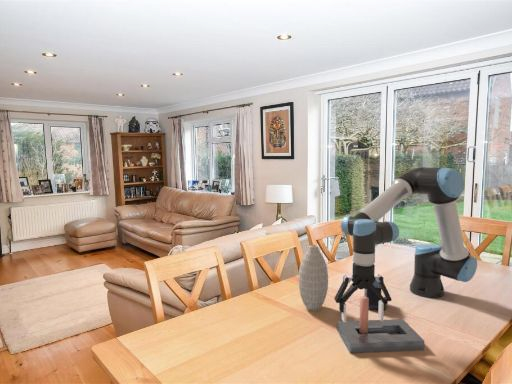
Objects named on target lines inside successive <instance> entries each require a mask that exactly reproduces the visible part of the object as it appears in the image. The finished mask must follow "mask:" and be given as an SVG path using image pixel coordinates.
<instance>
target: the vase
mask: <svg viewBox="0 0 512 384" xmlns="http://www.w3.org/2000/svg"><path fill="white" fill-rule="evenodd" d="M298 288H299V295H300V297H301V301H302V303H303V305H304V306H305V308H306V309H307V310H309V311H311V312H312V311H315V312H317V311H319V310H320V309H321V308H322V306H323V305H324V303H325V301H326V299H327V298H326V297H327V294H328V290H329V272H328V265H327V262H326V260H325V258H324V256H323V254H322V252H321V251H320V249H319V246H318V244H310V245H309V246H308V250H307V251H306V252H305V254H304V256H303V258H302V259H301V263H300V265H299V270H298Z"/></svg>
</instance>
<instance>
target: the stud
mask: <svg viewBox="0 0 512 384" xmlns="http://www.w3.org/2000/svg"><path fill="white" fill-rule="evenodd" d="M369 310H370V309H369V298H368V297H365V296H364V295H363V296H360V297H359V321H360V327H359V334H368V320H369Z"/></svg>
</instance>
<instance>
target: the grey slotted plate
mask: <svg viewBox="0 0 512 384" xmlns="http://www.w3.org/2000/svg"><path fill="white" fill-rule="evenodd" d="M359 327H360V320H346V322H343V320H340V321H339V320H337V321H336V331H337V333H338V334H339V337H340V338H341V341H342V342H343V344H344V345H345V347H346V349H347V351H348V353H349V354H362V353H363V354H364V353H365V354H367V353H388V352H391V353H392V352H413V351H414V352H415V351H416V352H417V351H424V350H425V340H424V339H423V338H422V336H421V335H419V334H418V332H416V331H415V329H413V328H412V327H411V326H410V325H409V323H408V322H407V321H405V320H404V319H403V318H397V319H396V318H395V319H383V321H381V320H380V319H368V334H359Z"/></svg>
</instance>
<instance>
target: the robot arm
mask: <svg viewBox="0 0 512 384" xmlns="http://www.w3.org/2000/svg"><path fill="white" fill-rule="evenodd" d="M463 192H464V179H463V176H462V174H461V172H460V171H458V170H457V169H456V168H452V167H451V168H449V167H423V166H422V167H421V166H419V167H415V168H413V169H410V170H407V171H405V172H404V173H401V174H400V175H399V176H397V177H396V178H395V179H394V180H393V181H392V183H391V185H390V186H389V187H388V188H386V190H384V191H382V193H380V194H379V195H378V196H376V197H375V198H374V199H373V200H372V201H370V202H369V203H368V204H367V205H366V206H364V207H363V208H362V209H361V210H360V211H358V212H357V213H356V214H355V215H353V216H352V215H346V216H345V217H343V218H342V219H341V221H340V229H341V231H342V232H343V233H344V234H346V235H349V236H351V237H352V241H353V242H352V245H353V246H352V247H353V248H352V262H353V263H352V275H351V276H347V275H346V274H345V275H344V276H343V279H342V282H341V285H340V286H339V288H338V290H337V292H336V294H335V296H334V298H333V299H334V301H335V303H336V304H338V310H339V312H340V314H341V321H343V322H346V321H347V304H346V302H347V301H348V300H349V299H350V298H351V297H352V296H353V294H354V293H355V292H357V290H358V289H359V290H363V289H364V290H365V289H368V288H371V289H372V290H373V291H374V292H375V293H376V295H377V296H378V297H379V298H380V299H381V301H379V308H378V310H377V311H378V312H377V313H378V314H377V316H378V317H377V318H378V320H381V321H383V320H384V313H385V312H386V311H387V305H388V302H392V300H393V299H392V297H391V294H390V293H389V290H388V289H387V287H386V284H385V282H384V276H382V275H381V274H377V275H375V273H376V272H375V267H376V265H375V263H376V246H377V245H381V244H386V243H391V242H393V241H395V240H397V239H398V238H399V236H400V235H399V234H400V229H399V227H398V225H397V224H396V223H395V222H393V221H390V220H389V221H387V220H386V221H380V220H381V219H382V218H383V217H384V216H386V215H387V214H388V213H389V212H390V211H391V210H392V209H394V208H395V207H396V206H397V205H398V204H399V203H400V202H401V201H403V200H404V199H409V198H410V197H411V196H412V195H417V194H418V195H426V196H427V200H428V202H429V203H430V204H432V205H433V209H434V214H435V219H436V225H437V229H438V233H439V239H440V243H441V245H440V244H431V243H430V244H420V245H417V246H416V247H415V251H414V264H413V265H414V268H413V269H414V271H413V272H414V273H413V277H412V279H411V281H410V283H409V291H410V292H411V293H412V294H414V295H418V296H421V297H424V298H425V297H426V298H440V297H443V296H444V295H445V289H444V284H443V282H442V278H441V276H442V277H445V278H448V279H450V280H454V281H458V282H463V283H467V282H470V281H471V280H472V279H473V278H474V277H475V274H476V273H477V268H478V260H477V258H476V257H474V256H470V255H471V254H470V251H469V249H468V247H465V244H464V238H463V234H462V227H461V222H460V217H459V216H460V215H459V212H458V207H457V206H458V205H457V201H458V200H459V198H460V196H461V195H462V194H463ZM375 280H376V281H377V282H378V283H379V285H380V287H381V292H382V293H383V295H384V296H383V295H382V293H381V294H380V292H379V291H378V290H377V289H376V288H375V287H374V285H373V283H374V282H375ZM350 282H352V283H351V284H350ZM349 284H350V286H349ZM348 286H349V288H348Z"/></svg>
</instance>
